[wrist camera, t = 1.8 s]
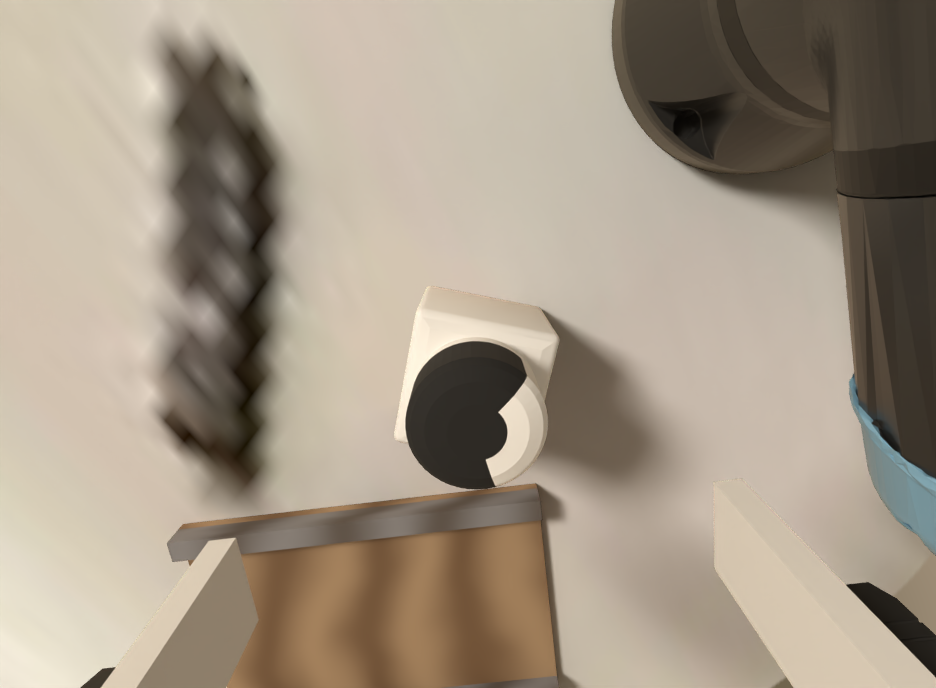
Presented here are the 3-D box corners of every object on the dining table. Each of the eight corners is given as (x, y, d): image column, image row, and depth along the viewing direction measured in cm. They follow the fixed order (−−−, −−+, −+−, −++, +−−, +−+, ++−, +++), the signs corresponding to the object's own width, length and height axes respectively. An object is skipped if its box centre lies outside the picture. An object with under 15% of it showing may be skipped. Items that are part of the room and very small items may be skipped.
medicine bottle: (406, 393, 35) (377, 494, 23) (426, 283, 33) (405, 333, 21) (516, 414, 35) (541, 523, 23) (542, 306, 33) (583, 367, 22)
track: (535, 483, 36) (540, 500, 34) (557, 683, 41) (561, 709, 39) (183, 524, 37) (166, 543, 35) (241, 716, 42) (230, 743, 40)
